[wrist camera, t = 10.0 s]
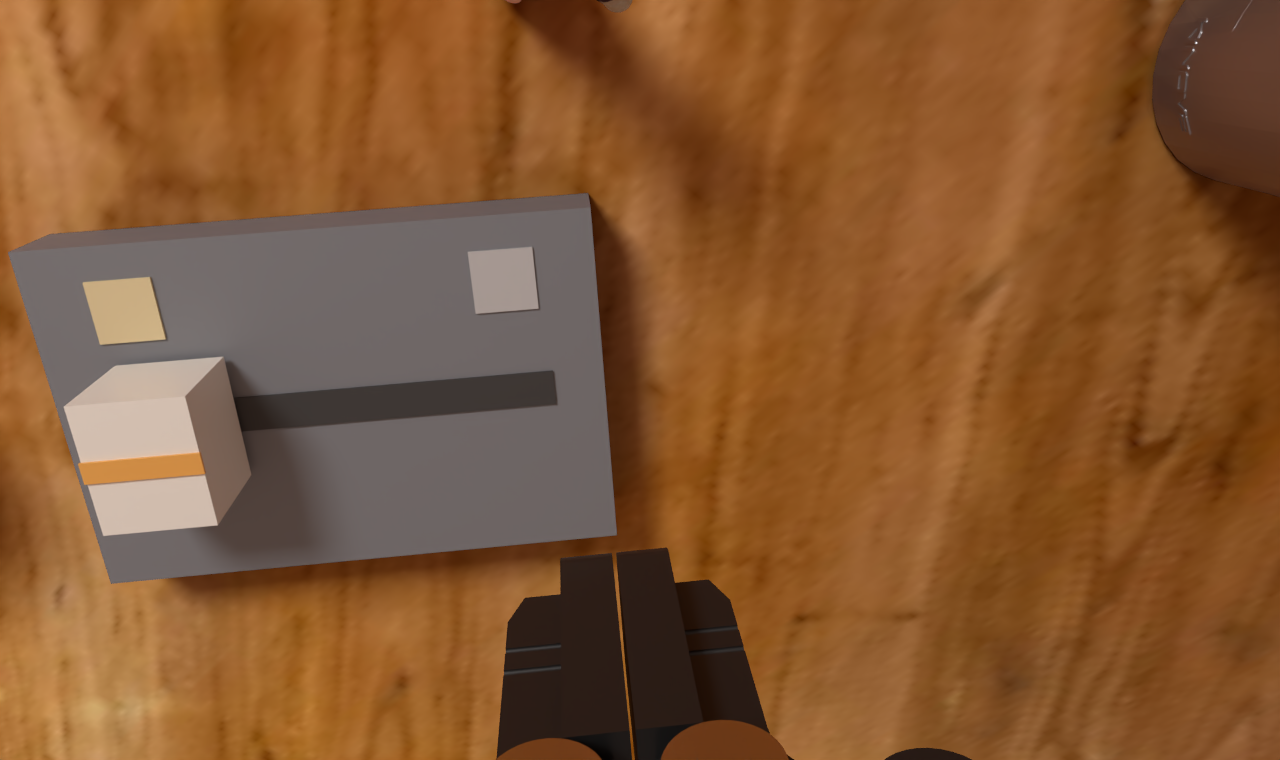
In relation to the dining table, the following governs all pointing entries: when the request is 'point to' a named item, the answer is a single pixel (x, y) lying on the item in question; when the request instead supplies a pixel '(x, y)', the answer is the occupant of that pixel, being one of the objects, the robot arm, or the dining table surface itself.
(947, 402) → the dining table surface
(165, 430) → the fader knob
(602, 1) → the grandmother figurine
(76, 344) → the fader console
